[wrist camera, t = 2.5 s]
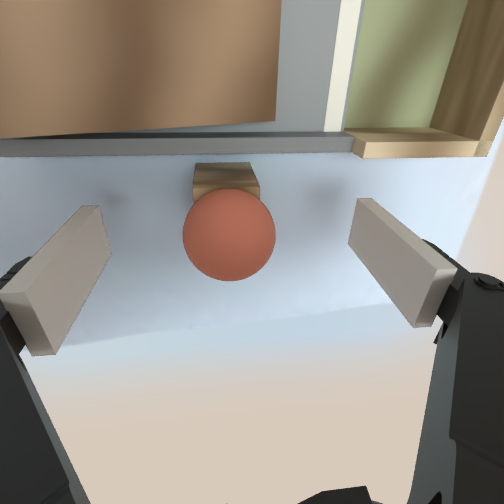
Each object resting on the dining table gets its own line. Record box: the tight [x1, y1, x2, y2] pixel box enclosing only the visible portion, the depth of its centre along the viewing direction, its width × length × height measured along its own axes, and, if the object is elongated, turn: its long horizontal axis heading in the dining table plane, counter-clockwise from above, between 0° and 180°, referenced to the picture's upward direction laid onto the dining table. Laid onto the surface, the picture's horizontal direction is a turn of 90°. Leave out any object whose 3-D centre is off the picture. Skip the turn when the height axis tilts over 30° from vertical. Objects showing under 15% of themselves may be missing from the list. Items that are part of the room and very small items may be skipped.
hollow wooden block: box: [192, 162, 260, 204], centre depth 18 cm, size 3×3×5 cm
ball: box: [183, 189, 275, 281], centre depth 14 cm, size 4×4×4 cm
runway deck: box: [0, 0, 365, 157], centre depth 14 cm, size 18×11×3 cm, turn 89°
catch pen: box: [343, 0, 504, 159], centre depth 15 cm, size 7×11×4 cm, turn 179°
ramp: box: [0, 0, 282, 139], centre depth 11 cm, size 14×8×6 cm, turn 89°
